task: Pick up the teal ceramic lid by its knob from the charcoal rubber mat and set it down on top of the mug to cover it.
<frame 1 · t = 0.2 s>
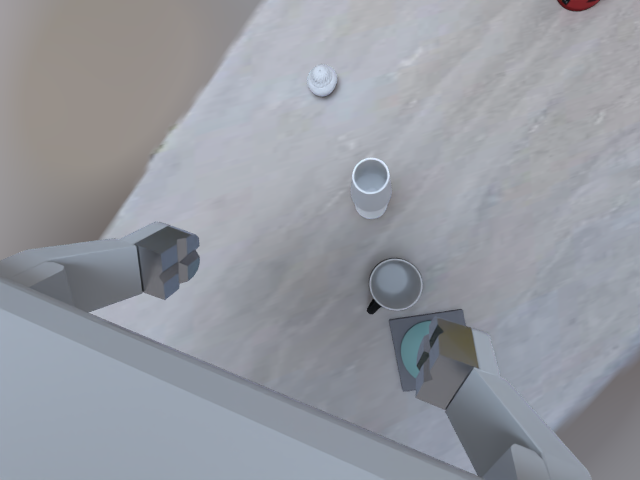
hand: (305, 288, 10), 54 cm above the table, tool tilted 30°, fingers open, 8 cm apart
champagne flute: (371, 202, 63), on the table
mat: (431, 349, 60), on the table
mug: (387, 284, 62), on the table
lid: (432, 351, 60), point 1 cm above the table, touching mat
white ridged rounded piece: (324, 89, 66), on the table
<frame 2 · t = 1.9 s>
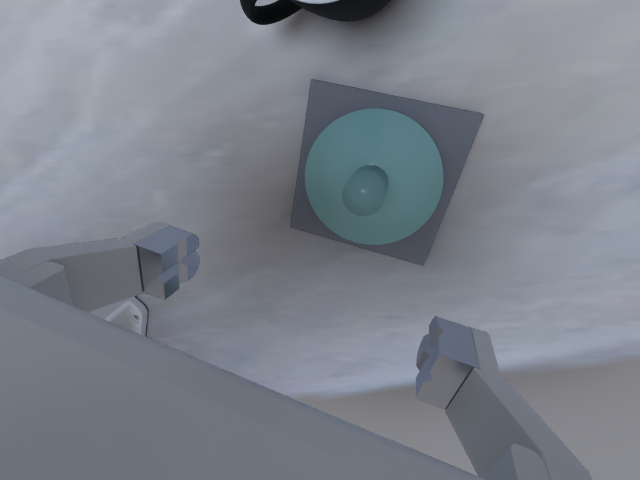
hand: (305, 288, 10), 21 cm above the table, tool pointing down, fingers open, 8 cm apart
mat: (372, 177, 29), on the table
lid: (371, 179, 28), point 1 cm above the table, touching mat
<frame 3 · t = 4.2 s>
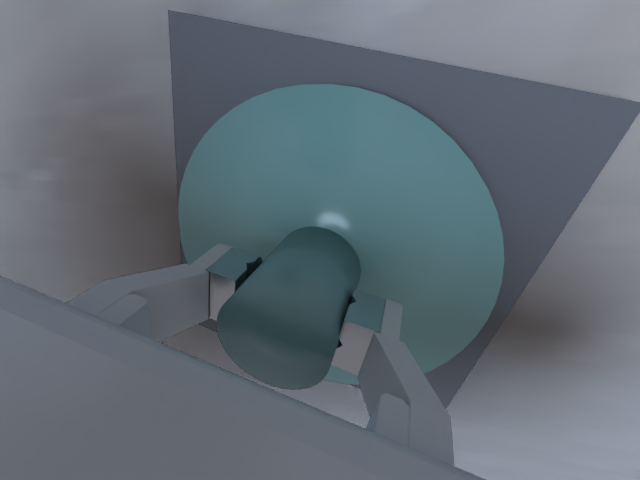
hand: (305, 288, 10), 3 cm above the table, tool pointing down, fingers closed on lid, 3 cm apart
mat: (332, 243, 13), on the table
lid: (326, 251, 12), point 1 cm above the table, touching gripper, mat
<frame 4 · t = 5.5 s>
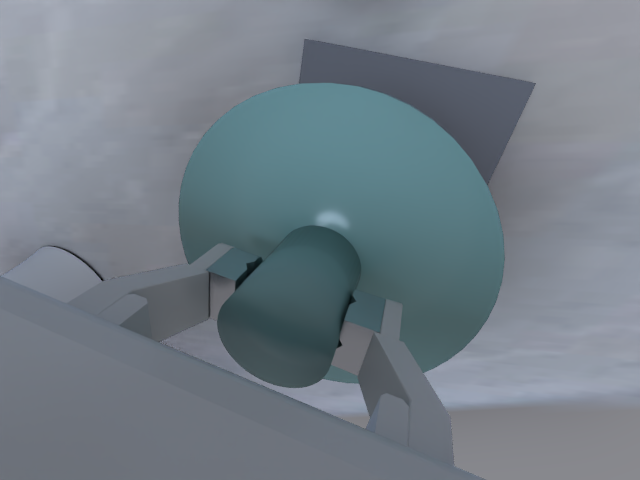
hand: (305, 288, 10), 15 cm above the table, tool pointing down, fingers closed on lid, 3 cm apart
mat: (382, 168, 23), on the table
lid: (327, 250, 12), point 13 cm above the table, touching gripper
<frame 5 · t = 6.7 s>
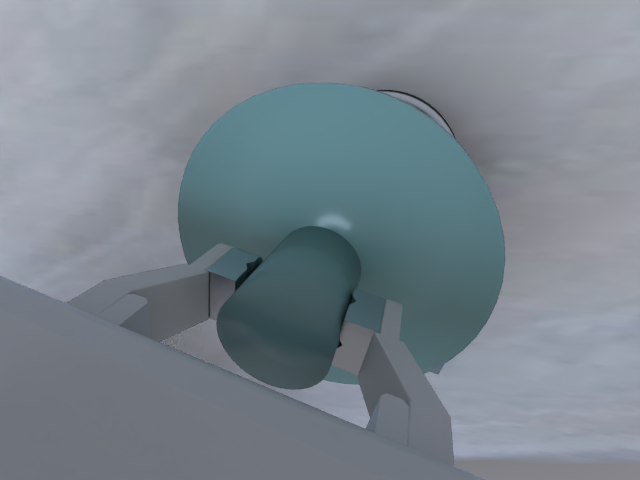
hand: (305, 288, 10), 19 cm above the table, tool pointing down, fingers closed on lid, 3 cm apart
mug: (375, 156, 27), on the table
lid: (327, 251, 12), point 17 cm above the table, touching gripper
when the fingers open (14 cm above the table, at t = 8.0 s): lid drops 1 cm, resting on mug.
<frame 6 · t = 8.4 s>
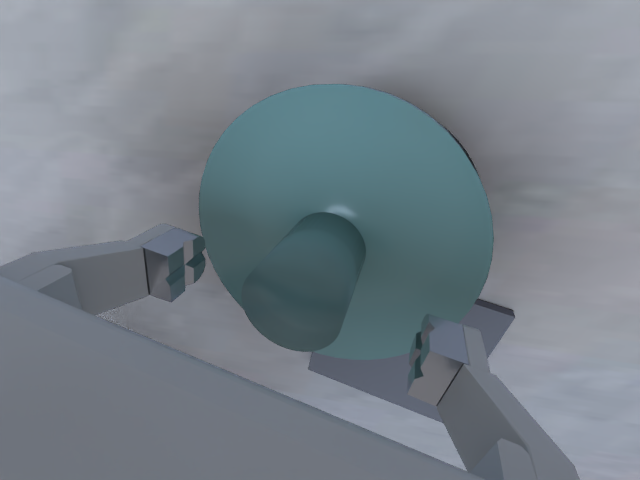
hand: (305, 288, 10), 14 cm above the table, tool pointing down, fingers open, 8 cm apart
mat: (394, 341, 28), on the table
lid: (334, 236, 14), point 10 cm above the table, touching mug
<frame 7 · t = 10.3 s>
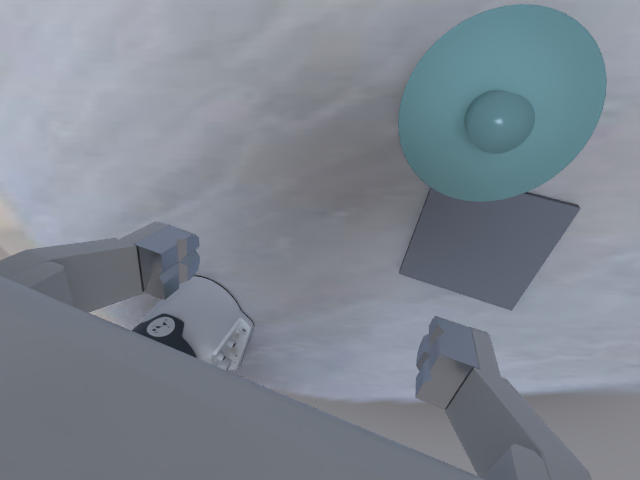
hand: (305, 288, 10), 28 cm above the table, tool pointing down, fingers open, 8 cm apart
mat: (476, 242, 36), on the table
lid: (488, 114, 21), point 10 cm above the table, touching mug
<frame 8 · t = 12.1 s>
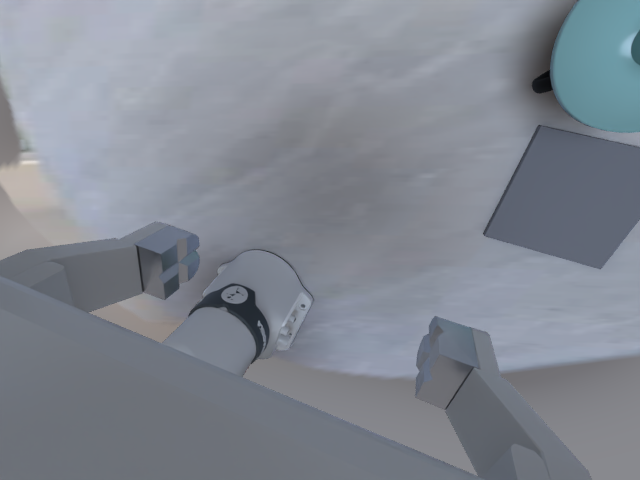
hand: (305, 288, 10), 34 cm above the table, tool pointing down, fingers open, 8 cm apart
mat: (569, 199, 36), on the table
mug: (585, 55, 31), on the table, touching lid
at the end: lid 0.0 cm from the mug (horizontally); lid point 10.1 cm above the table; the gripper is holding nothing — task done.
